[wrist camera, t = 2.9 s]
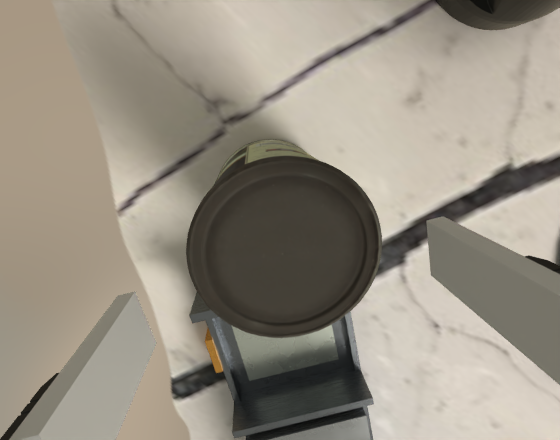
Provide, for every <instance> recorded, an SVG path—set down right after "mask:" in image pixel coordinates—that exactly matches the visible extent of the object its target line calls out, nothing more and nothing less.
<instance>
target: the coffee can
mask: <svg viewBox="0 0 560 440" xmlns="http://www.w3.org/2000/svg"><path fill="white" fill-rule="evenodd" d="M381 250H382V235H381V228H380V223H379V219H378V216H377V213H376V211H375V208H374V206H373V204H372V203H371V201H370V199H369V198H368V196H367V195H366V193H365V192H364V191H363V190H362V188H361V187H360V186H359V185H358V184H357V183H356V182H355V181H354V180H353V179H352V178H350V177H349V176H348V175H346V174H345V173H343V172H342V171H341V170H339V169H337V168H335V167H333V166H331V165H329V164H327V163H324V162H321V161H319V160H317V159H316V158H314V157H312V156H311V155H309V154H307V153H306V152H305V151H304V150H302V149H301V148H299V147H298V146H296V145H294V144H292V143H288V142H285V141H281V140H261V141H256V142H253V143H250V144H247V145H245V146H244V147H242V148H240V149H239V150H238V151H236V152H235V153H234V154H233V155H232V156H231V157H230V158H229V159H228V160H227V162H226V163H225V164H224V166H223V168H222V170H221V172H220V174H219V176H218V179H217V181H216V183H215V184H214V186H213V188H212V189H211V190H210V191H209V192H208V193H207V195H206V196H205V197H204V198H203V200H202V201H201V203H200V205H199V207H198V209H197V210H196V212H195V214H194V217H193V219H192V222H191V225H190V229H189V232H188V238H187V248H186V255H187V264H188V269H189V273H190V276H191V279H192V282H193V284H194V286H195V288H196V290H197V292H198V294H199V295H200V297H201V298H202V300H203V301H204V302H205V304H206V305H207V306H208V307H209V308H210V309H211V311H213V312H214V313H215V314H216V315H217V316H218V317H219V318H221V319H222V320H223V321H225V322H226V323H228V324H230V325H231V326H233V327H235V328H238V329H240V330H242V331H244V332H247V333H250V334H254V335H258V336H263V337H271V338H290V337H297V336H303V335H306V334H310V333H314V332H316V331H319V330H321V329H324V328H326V327H328V326H330V325H332V324H333V323H335V322H337V321H338V320H340V319H341V318H343V317H344V316H345V315H347V314H348V313H349V312H350V311H351V310H352V309H353V308H354V307H355V306H356V305H357V304H358V303H359V302H360V301H361V300H362V298H363V297H364V295H365V294H366V293H367V291H368V290H369V288H370V286H371V284H372V282H373V280H374V278H375V276H376V273H377V270H378V267H379V263H380V258H381Z"/></svg>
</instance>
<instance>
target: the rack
mask: <svg viewBox="0 0 560 440" xmlns="http://www.w3.org/2000/svg"><path fill="white" fill-rule="evenodd" d="M189 316H190V318H191V321H192V323H196V322H200V321H204V320H206V323H207V325H208V329H207V334H206V339H205V343H206V346H207V349H208V352H209V354H210V357H211V360H212V363H213V365H214V368H215V371H216V373H219V372H223V371H224V374H225V377H226V380H227V383H228V386H229V388H230V391H231V394H232V397H233V400H234V414H233V430H232V433H233V436H234V438H238V437H242V436H246V440H373V436H372V430H371V425H370V419H369V413H368V408H367V406H368V405H372V404H374V403H373V398H372V395H371V393H370V391H369V388H368V386H367V384H366V382H365V379H364V377H363V375H362V372H361V368H360V363H359V357H358V352H357V346H356V340H355V335H354V329H353V323H352V318H351V312H349V313H348V314H347V315H345V316H344V317H343V318H341V319H340V320H338V321H337V322H335V323H333V324H332V325H330V326H328V327H326V328H324V329H321V330H319V331H316V332H314V333H310V334H306V335H303V336H297V337H290V338H271V337H263V336H258V335H254V334H250V333H247V332H244V331H242V330H240V329H238V328H235V327H233V326H231V325H230V324H228V323H226V322H225V321H223V320H222V319H221V318H219V317H218V316H217V315H216V314H215V313H214V312H213V311H211V309H210V308H209V307H208V306H207V305H206V304H205V302H204V301H203V300H202V298H201V297H200V295H199V294H198V292H197V293H196V296H195V300H194V303H193V306H192V309H191V312H190V315H189Z"/></svg>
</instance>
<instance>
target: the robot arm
mask: <svg viewBox="0 0 560 440" xmlns="http://www.w3.org/2000/svg"><path fill="white" fill-rule="evenodd" d="M436 1H437V2H438V3H439V4H440V6H441V7H442V8H443V9H444V10H445V11H446V12H447V13H448V14H450V15H451V16H452V17H454V18H455V19H457V20H458V21H460V22H462V23H464V24H466V25H468V26H471V27H474V28H478V29H484V30H501V29H507V28H512V27H515V26H518V25H521V24H524V23H527V22H529V21H532V20H535V19H538V18H540V17H543V16H545V15H547V14H549V13H551V12H553V11H555V10H556V9H558V8H560V0H436ZM427 233H428V245H429V257H430V270H431V276H433V277H434V278H435V279H436V280H437V281H439V282H440V283H441V284H442V285H443V286H444V287H446V288H447V289H448V290H449V291H450V292H451V293H453V294H454V295H455V296H456V297H457V298H458V299H460V300H461V301H462V302H463V303H464V304H465V305H467V306H468V307H469V308H470V309H471V310H473V311H474V312H475V313H476V314H477V315H478V316H480V317H481V318H482V319H483V320H484V321H485V322H487V323H488V324H489V325H490V326H491V327H492V328H494V329H495V330H496V331H497V332H498V333H499V334H501V335H502V336H503V337H504V338H505V339H506V340H508V341H509V342H510V343H511V344H512V345H514V346H515V347H516V348H517V349H518V350H519V351H521V352H522V353H523V354H524V355H525V356H526V357H528V358H529V359H530V360H531V361H532V362H533V363H535V364H536V365H537V366H538V367H539V368H540V369H542V370H543V371H544V372H545V373H546V374H548V375H549V376H550V377H551V378H552V379H553V380H555V381H556V382H557V383H558V384H559V385H560V266H558V265H556V264H554V263H552V262H550V261H548V260H544V259H540V258H536V257H532V256H525V257H524V256H522V255H520V254H518V253H516V252H514V251H512V250H510V249H508V248H506V247H504V246H502V245H500V244H498V243H496V242H494V241H492V240H490V239H488V238H486V237H483V236H481V235H479V234H477V233H475V232H473V231H471V230H469V229H467V228H465V227H463V226H461V225H459V224H457V223H455V222H453V221H451V220H449V219H447V218H445V217H439V218H435V219H431V220H427ZM155 345H156V340H155V338H154V336H153V333H152V331H151V328H150V326H149V324H148V321H147V319H146V316H145V314H144V312H143V310H142V307H141V304H140V302H139V300H138V297H137V295H136V292H131V293H127V294H123V295H119V296H117V297H116V299H115V300H114V301H113V303H112V304H111V305H110V307H109V308H108V309H107V311H106V312H105V313H104V315H103V316H102V317H101V319H100V320H99V321H98V323H97V324H96V325H95V327H94V328H93V329H92V331H91V332H90V333H89V335H88V336H87V337H86V338H85V340H84V341H83V343H82V344H81V345H80V346H79V348H78V349H77V350H76V352H75V353H74V355H73V356H72V357H71V358H70V360H69V361H68V362H67V364H66V365H65V366H64V368H63V369H62V370H61V372H60V373H56V374H55V375H54V376H53V377H52V378H51V379H50V380H49V381H47V382H46V383H45V384H44V385H43V386H42V387H41V388H40V389H39V391H38V392H37V393H36V394H35V395H34V397H33V398H32V399H31V401H30V403H29V404H27V406H26V407H25V408H24V410H23V411H22V412H21V415H20V416H18V417H17V418H16V420H15V421H14V422H13V423H12V425H11V426H10V427H9V429H8V430H7V431H6V432H5V434H4V435H3V436H2V437H1V439H0V440H116V438H117V435H118V433H119V431H120V428H121V426H122V423H123V421H124V419H125V417H126V414H127V412H128V409H129V407H130V405H131V402H132V400H133V397H134V395H135V393H136V390H137V388H138V385H139V383H140V381H141V378H142V376H143V374H144V371H145V369H146V367H147V364H148V362H149V359H150V357H151V355H152V352H153V350H154V348H155Z"/></svg>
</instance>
